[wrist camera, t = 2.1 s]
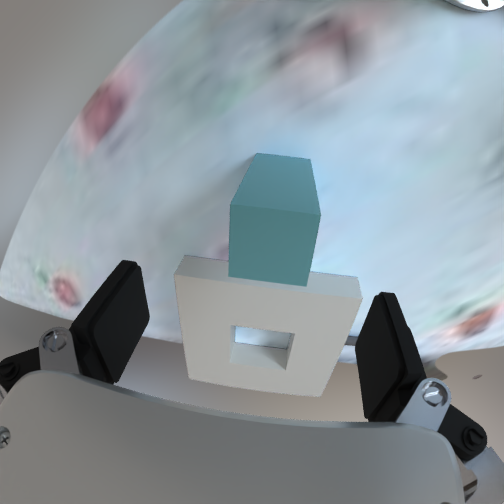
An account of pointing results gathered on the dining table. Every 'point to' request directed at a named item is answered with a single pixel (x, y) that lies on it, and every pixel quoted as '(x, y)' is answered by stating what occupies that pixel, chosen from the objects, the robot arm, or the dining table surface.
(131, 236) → the dining table surface
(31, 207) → the dining table surface
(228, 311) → the white square-hole board
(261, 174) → the plug
